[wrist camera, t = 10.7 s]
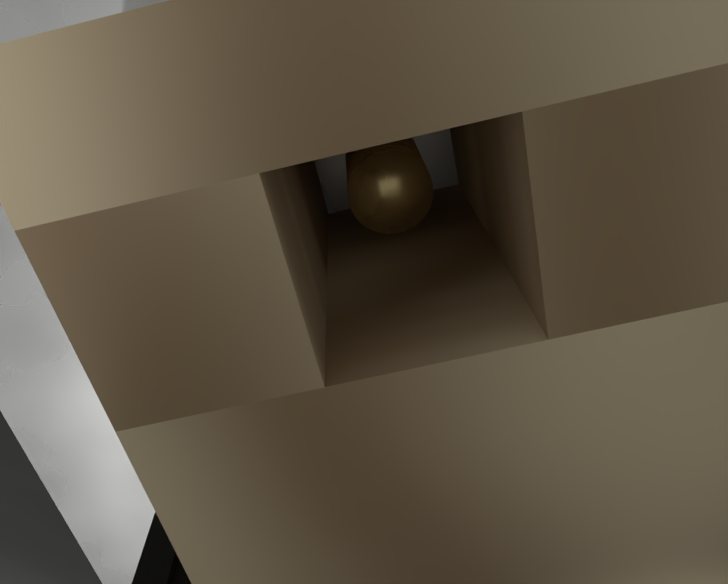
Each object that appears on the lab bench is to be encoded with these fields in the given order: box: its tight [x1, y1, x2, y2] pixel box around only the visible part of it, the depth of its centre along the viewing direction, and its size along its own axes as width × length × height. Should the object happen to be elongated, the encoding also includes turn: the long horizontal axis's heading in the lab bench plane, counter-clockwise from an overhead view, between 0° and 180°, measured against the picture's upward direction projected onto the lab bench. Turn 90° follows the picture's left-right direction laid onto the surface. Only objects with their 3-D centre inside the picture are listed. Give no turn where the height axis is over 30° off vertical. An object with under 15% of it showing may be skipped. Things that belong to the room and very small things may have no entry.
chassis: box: [0, 0, 459, 584], centre depth 12 cm, size 16×22×4 cm
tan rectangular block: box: [0, 0, 728, 584], centre depth 10 cm, size 6×16×5 cm, turn 13°
